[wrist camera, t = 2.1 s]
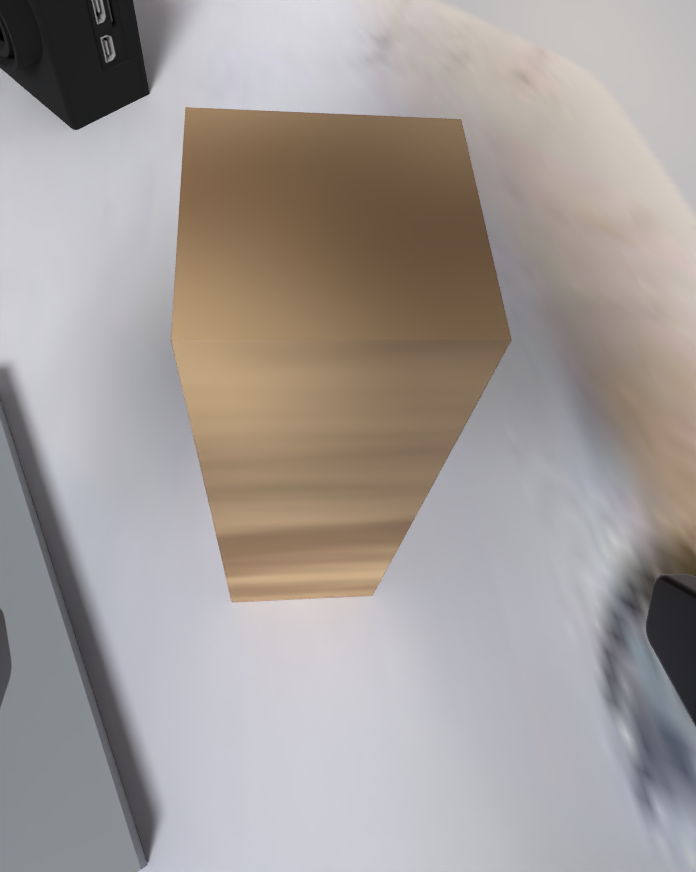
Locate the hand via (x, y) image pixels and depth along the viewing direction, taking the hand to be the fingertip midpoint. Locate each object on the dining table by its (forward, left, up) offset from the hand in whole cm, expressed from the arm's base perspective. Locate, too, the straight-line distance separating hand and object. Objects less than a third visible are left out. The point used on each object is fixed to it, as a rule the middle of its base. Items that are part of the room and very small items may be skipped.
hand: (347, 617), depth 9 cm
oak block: (+3, -4, -12) cm, 13 cm away
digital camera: (+27, -17, -12) cm, 34 cm away
